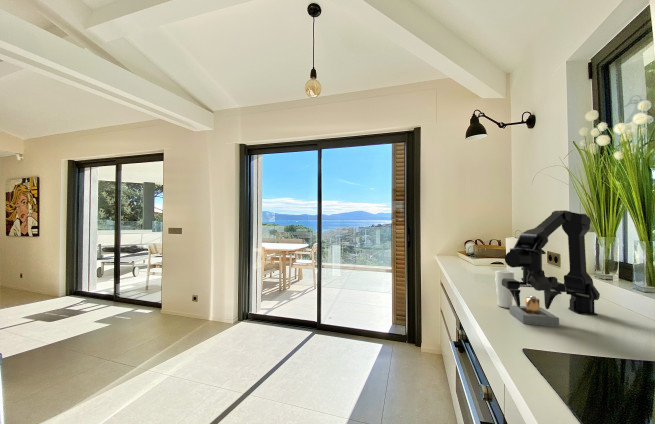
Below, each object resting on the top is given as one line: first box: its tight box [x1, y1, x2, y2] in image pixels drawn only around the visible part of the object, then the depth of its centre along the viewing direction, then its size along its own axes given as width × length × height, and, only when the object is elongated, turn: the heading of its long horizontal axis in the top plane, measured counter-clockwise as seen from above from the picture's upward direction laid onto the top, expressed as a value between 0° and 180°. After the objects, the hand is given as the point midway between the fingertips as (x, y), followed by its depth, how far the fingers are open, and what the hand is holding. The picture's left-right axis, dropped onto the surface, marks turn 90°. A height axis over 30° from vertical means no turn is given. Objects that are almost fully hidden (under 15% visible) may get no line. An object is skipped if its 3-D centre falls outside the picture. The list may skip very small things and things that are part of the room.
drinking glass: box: [494, 269, 515, 309], centre depth 114 cm, size 7×7×15 cm
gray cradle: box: [509, 304, 560, 328], centre depth 99 cm, size 11×11×3 cm
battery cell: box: [525, 295, 541, 314], centre depth 99 cm, size 4×4×8 cm
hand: (532, 308), depth 99 cm, fingers open, 9 cm apart
